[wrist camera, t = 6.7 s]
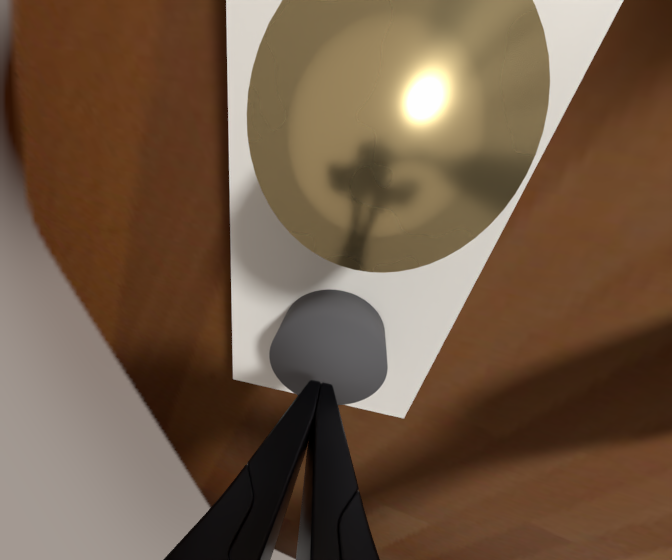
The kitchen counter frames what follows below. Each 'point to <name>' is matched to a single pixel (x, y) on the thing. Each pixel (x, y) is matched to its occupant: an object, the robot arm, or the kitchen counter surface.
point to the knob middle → (395, 123)
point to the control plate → (376, 288)
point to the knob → (331, 345)
